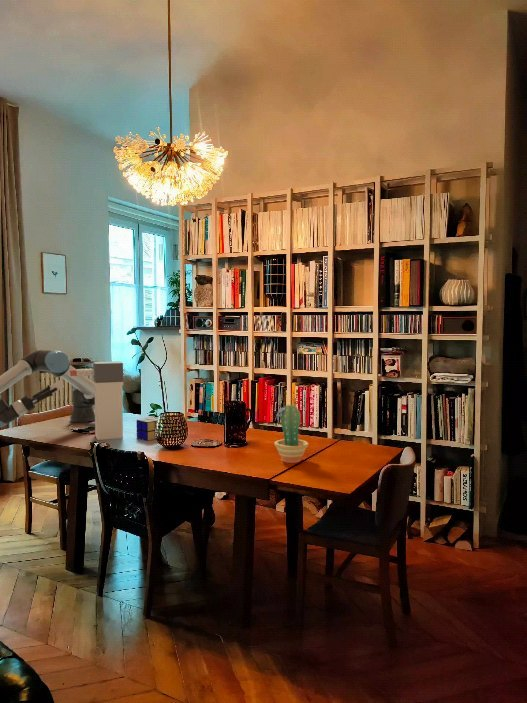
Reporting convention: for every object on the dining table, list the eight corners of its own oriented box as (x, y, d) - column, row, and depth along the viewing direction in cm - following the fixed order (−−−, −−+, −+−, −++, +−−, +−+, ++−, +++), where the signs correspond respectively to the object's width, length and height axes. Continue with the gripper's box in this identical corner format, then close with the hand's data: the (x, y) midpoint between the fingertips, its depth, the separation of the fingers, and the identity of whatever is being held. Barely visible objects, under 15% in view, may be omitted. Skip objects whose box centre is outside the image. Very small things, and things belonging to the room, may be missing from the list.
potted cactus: (285, 454, 254) (286, 401, 253) (314, 459, 245) (315, 404, 244) (267, 461, 242) (267, 405, 240) (296, 466, 233) (297, 409, 231)
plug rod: (70, 376, 279) (70, 370, 278) (70, 375, 281) (70, 369, 281) (120, 374, 288) (120, 368, 288) (119, 373, 291) (119, 368, 291)
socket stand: (96, 440, 280) (95, 363, 278) (94, 434, 293) (93, 361, 291) (124, 438, 285) (123, 363, 283) (120, 433, 298) (119, 361, 296)
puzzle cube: (136, 438, 286) (136, 419, 285) (151, 435, 293) (151, 417, 293) (147, 441, 279) (147, 422, 279) (163, 438, 286) (163, 419, 286)
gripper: (29, 407, 285) (65, 386, 291) (27, 415, 262) (67, 392, 268) (21, 395, 283) (58, 374, 289) (18, 402, 260) (59, 379, 266)
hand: (62, 383), depth 279 cm, fingers open, 13 cm apart
